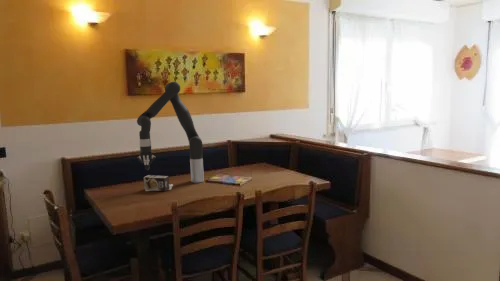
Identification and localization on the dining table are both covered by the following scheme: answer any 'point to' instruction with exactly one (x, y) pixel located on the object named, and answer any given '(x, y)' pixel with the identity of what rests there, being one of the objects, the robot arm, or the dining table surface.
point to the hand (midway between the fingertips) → (147, 169)
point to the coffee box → (156, 183)
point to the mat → (168, 189)
